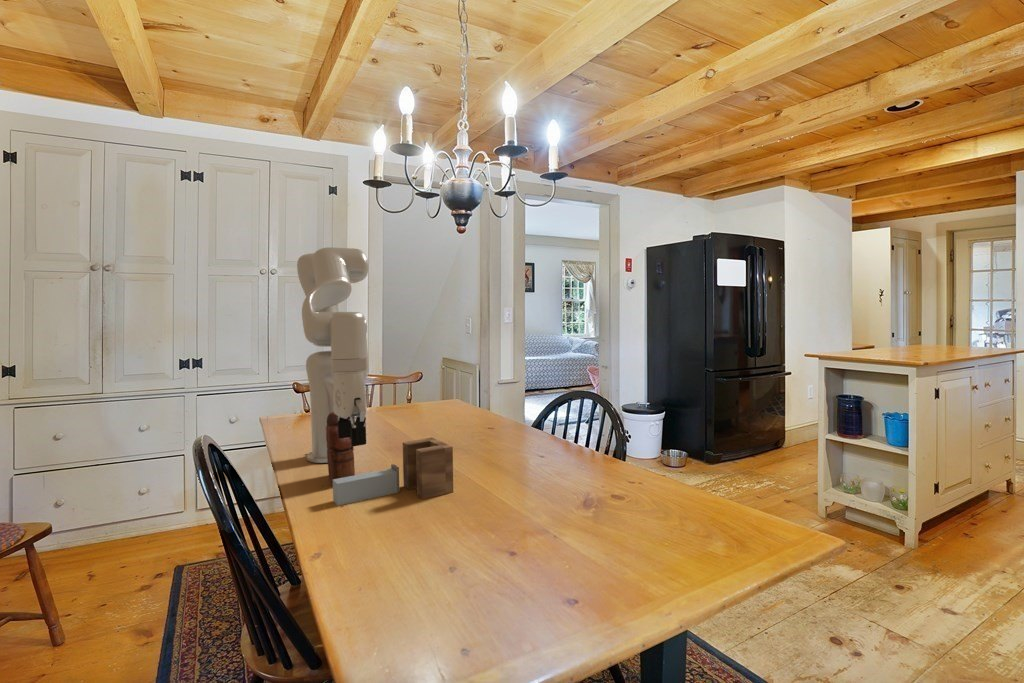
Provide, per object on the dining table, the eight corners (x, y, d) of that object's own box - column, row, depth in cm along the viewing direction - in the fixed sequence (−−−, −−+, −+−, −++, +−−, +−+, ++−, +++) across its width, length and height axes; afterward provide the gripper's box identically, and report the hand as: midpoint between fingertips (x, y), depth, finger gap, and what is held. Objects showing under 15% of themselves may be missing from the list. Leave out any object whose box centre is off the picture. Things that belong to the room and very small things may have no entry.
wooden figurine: (357, 484, 129) (355, 413, 128) (330, 488, 126) (328, 415, 125) (351, 471, 140) (349, 405, 139) (326, 474, 137) (323, 407, 136)
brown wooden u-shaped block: (403, 486, 127) (402, 442, 127) (433, 479, 132) (432, 437, 131) (422, 499, 118) (421, 452, 118) (453, 492, 123) (452, 446, 122)
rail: (333, 500, 118) (332, 475, 118) (393, 487, 126) (393, 463, 126) (337, 505, 115) (336, 479, 115) (399, 492, 123) (399, 467, 123)
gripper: (322, 365, 122) (324, 437, 122) (344, 370, 107) (346, 451, 108) (353, 363, 126) (356, 432, 127) (378, 367, 112) (381, 445, 112)
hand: (351, 441), depth 117 cm, fingers open, 9 cm apart
